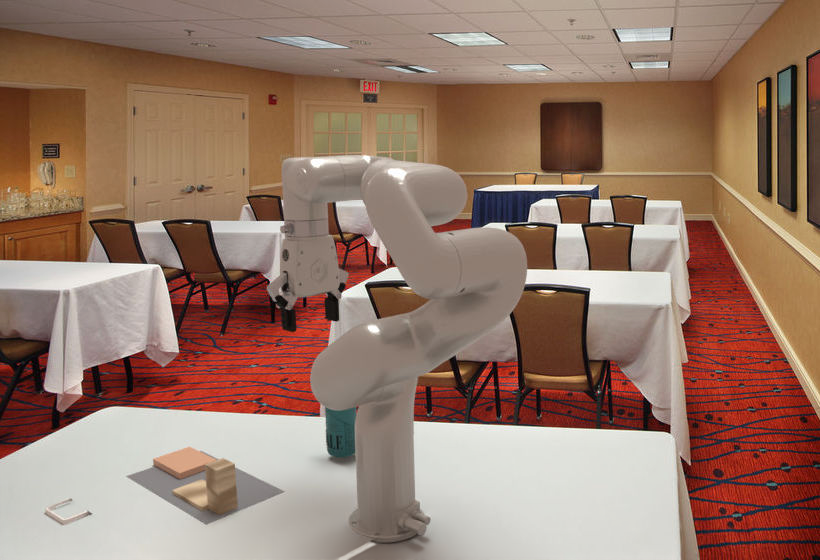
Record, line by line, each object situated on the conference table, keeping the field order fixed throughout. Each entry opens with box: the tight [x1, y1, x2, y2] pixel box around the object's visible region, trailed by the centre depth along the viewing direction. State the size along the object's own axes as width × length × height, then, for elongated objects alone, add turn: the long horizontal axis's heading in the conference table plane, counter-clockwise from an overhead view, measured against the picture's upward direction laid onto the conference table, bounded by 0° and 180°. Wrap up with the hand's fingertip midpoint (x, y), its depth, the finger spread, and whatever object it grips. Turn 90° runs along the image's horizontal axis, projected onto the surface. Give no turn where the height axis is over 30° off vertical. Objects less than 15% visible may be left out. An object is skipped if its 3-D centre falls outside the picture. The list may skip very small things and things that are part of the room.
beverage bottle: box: [324, 406, 357, 458], centre depth 156 cm, size 6×7×20 cm
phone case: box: [44, 498, 93, 525], centre depth 141 cm, size 7×1×15 cm
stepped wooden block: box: [172, 457, 238, 515], centre depth 138 cm, size 13×6×8 cm, turn 46°
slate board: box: [126, 450, 286, 525], centre depth 145 cm, size 28×16×1 cm, turn 46°
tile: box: [152, 446, 216, 479], centre depth 153 cm, size 1×8×10 cm
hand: (311, 325), depth 140 cm, fingers open, 9 cm apart
